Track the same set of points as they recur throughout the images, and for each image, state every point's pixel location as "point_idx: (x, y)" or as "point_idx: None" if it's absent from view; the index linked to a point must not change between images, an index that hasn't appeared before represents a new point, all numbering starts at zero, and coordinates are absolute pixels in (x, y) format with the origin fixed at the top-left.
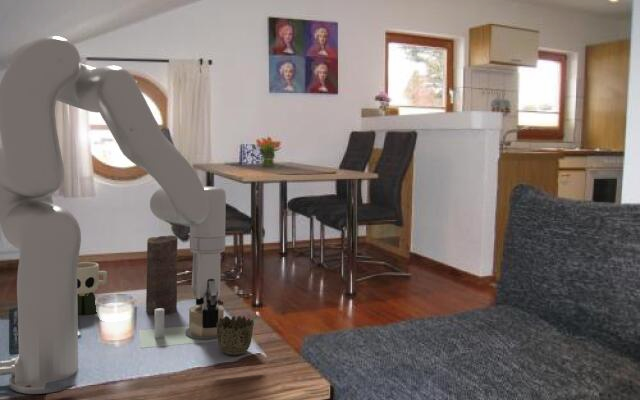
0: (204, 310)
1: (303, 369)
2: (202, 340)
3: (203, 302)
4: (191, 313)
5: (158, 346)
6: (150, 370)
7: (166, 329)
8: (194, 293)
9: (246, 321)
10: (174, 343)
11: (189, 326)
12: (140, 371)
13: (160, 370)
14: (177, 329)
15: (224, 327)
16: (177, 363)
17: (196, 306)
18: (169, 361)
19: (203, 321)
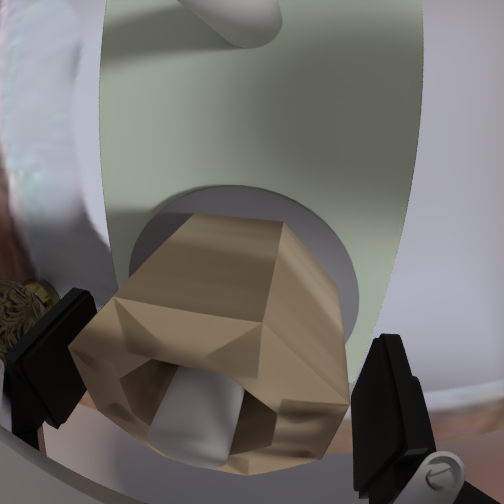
0: (8, 361)
1: None
2: (130, 251)
3: (369, 440)
4: (121, 289)
5: (104, 27)
6: (13, 41)
7: (394, 90)
8: (53, 492)
9: None
10: (114, 104)
11: (263, 231)
12: (17, 14)
13: (5, 71)
14: (367, 158)
15: (9, 348)
16: (29, 120)
17: (286, 387)
18: (45, 89)
19: (52, 310)
